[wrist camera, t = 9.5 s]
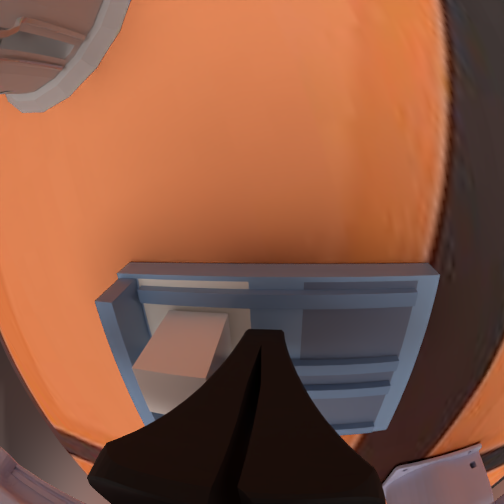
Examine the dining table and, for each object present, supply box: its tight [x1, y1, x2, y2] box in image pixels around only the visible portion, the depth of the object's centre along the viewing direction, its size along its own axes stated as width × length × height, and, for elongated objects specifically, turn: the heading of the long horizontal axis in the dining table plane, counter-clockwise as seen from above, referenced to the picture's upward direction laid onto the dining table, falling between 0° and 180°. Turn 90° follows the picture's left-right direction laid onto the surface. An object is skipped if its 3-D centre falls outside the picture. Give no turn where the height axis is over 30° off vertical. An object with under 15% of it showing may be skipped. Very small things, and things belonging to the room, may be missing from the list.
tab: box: [132, 310, 232, 414], centre depth 10 cm, size 2×2×4 cm
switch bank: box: [95, 262, 440, 435], centre depth 12 cm, size 13×10×3 cm
